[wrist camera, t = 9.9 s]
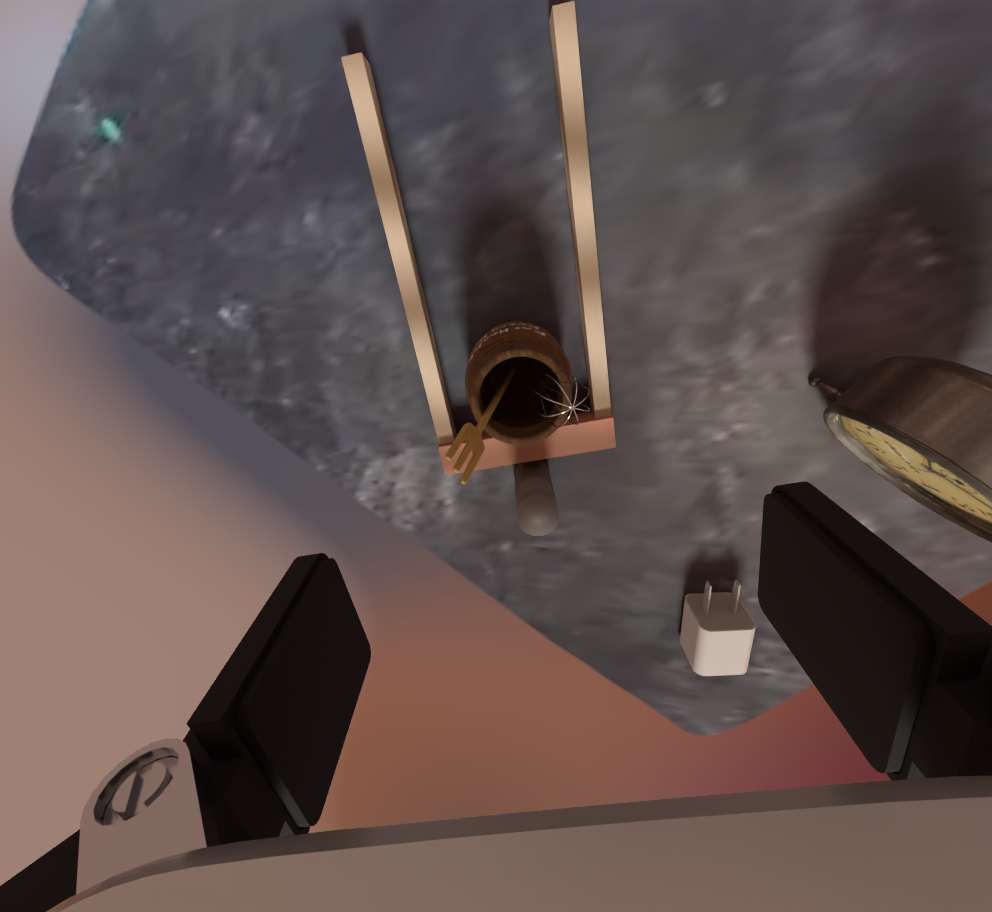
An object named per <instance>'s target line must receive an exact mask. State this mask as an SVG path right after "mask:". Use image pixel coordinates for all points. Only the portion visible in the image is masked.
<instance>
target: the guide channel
mask: <svg viewBox="0 0 992 912" xmlns="http://www.w3.org/2000/svg"><path fill="white" fill-rule="evenodd" d="M549 25H550V35H551V44H552V53H553V62H554V72H555V81H556V90H557V99H558V109H559V118H560V127H561V137H562V146H563V155H564V164H565V174H566V183H567V192H568V201H569V211H570V220H571V229H572V239H573V248H574V257H575V266H576V276H577V285H578V294H579V303H580V313H581V322H582V331H583V341H584V350H585V359H586V368H587V378H588V387H589V396H590V406H591V410H590V411H584V412H578V413H576V415H577V417H578V421H579V424H578V421H577V418H576V415H575V413H572V414H571V415H570V414H567V417H569V415H570V417H569V419H570V420H571V421H573V422H574V423H576V424H578V425H575V424H574V423H573V422H571V421H570V420H569V419H568V421H567V422H566V420H567V418H565V420H564V422H563V423H562V424H561V426H562V425H563V424H564V423H565V422H566V423H565V425H563V426H562V427H560V428H558V429H557V430H556V431H555V432H554V433H553V434H551V435H550V436H549V437H547V438H545V439H543V440H541V441H539V442H536V443H533V444H528V445H512V444H507V443H504V442H501V441H499V440H497V439H495V438H493V437H491V436H490V435H489V434H487V433H486V432H485V431H484V430H483V431H482V433H481V436H482V440H483V443H484V446H485V450H484V452H483V454H482V456H481V458H480V459H479V461H478V463H477V465H476V467H475V468H474V470H473V471H475V470H481V469H487V468H493V467H500V466H506V465H512V464H517V466H516V468H515V471H514V476H515V491H516V505H517V520H518V524H519V526H520V528H521V529H522V530H523V531H524V532H525V533H527V534H529V535H533V536H543V535H546V534H548V533H550V532H552V531H553V530H554V529H555V528H556V526H557V525H558V522H559V513H558V508H557V504H556V499H555V495H554V491H553V486H552V482H551V477H550V473H549V469H548V466H547V464H546V463H545V462H544V461H543V460H542V459H548V458H554V457H560V456H566V455H572V454H578V453H584V452H590V451H597V450H603V449H609V448H615V447H616V443H615V432H614V420H613V417H612V415H611V404H610V393H609V382H608V371H607V360H606V349H605V338H604V326H603V315H602V304H601V293H600V282H599V271H598V260H597V248H596V237H595V226H594V215H593V204H592V193H591V181H590V170H589V159H588V148H587V137H586V126H585V115H584V103H583V92H582V81H581V70H580V59H579V48H578V37H577V25H576V14H575V3H574V1H571V2H567V3H562V4H558V5H554V6H552V10H551V14H550V19H549ZM341 59H342V62H343V66H344V70H345V74H346V78H347V82H348V86H349V90H350V94H351V98H352V102H353V106H354V110H355V114H356V118H357V122H358V126H359V130H360V134H361V138H362V141H363V145H364V149H365V153H366V157H367V161H368V165H369V169H370V173H371V177H372V181H373V185H374V189H375V193H376V197H377V201H378V205H379V209H380V213H381V216H382V220H383V224H384V228H385V232H386V236H387V240H388V244H389V248H390V252H391V256H392V260H393V264H394V268H395V272H396V276H397V280H398V284H399V288H400V292H401V295H402V299H403V303H404V307H405V311H406V315H407V319H408V323H409V327H410V331H411V335H412V339H413V343H414V347H415V351H416V355H417V359H418V363H419V367H420V371H421V374H422V378H423V382H424V386H425V390H426V394H427V398H428V402H429V406H430V410H431V414H432V418H433V422H434V426H435V430H436V434H437V438H438V442H439V447H438V448H439V452H440V456H441V460H442V464H443V468H444V472H445V475H451V474H457V473H463V472H464V471H465V469H466V467H467V465H468V463H469V461H470V459H471V457H472V455H473V454H472V451H471V452H470V454H469V455H468V457H467V459H466V460H465V462H464V464H463V466H462V467H461V469H460V471H459V472H454V470H453V466H454V465H455V463H456V461H457V459H458V457H459V455H460V454H461V452H462V450H463V448H464V446H465V445H466V441H465V439H464V441H463V442H462V444H461V445H460V447H459V449H458V450H457V452H456V453H455V455H454V456H453V458H452V459H451V460H447V459H446V453H447V452H448V450H449V448H450V447H451V445H452V443H453V442H454V440H455V438H456V437H457V435H458V433H456V429H455V425H454V421H453V417H452V412H451V408H450V404H449V400H448V395H447V391H446V387H445V383H444V378H443V374H442V370H441V365H440V361H439V357H438V353H437V348H436V344H435V340H434V336H433V331H432V327H431V323H430V319H429V314H428V310H427V306H426V302H425V297H424V293H423V289H422V285H421V280H420V276H419V272H418V267H417V263H416V259H415V255H414V250H413V246H412V242H411V238H410V233H409V229H408V225H407V221H406V216H405V212H404V208H403V204H402V199H401V195H400V191H399V187H398V182H397V178H396V174H395V169H394V165H393V161H392V157H391V152H390V148H389V144H388V140H387V135H386V131H385V127H384V123H383V118H382V114H381V110H380V106H379V101H378V97H377V93H376V89H375V84H374V80H373V76H372V71H371V67H370V64H369V62H368V61H367V59H366V58H365V57H364V55H363V54H362V52H361V53H357V54H353V55H348V56H344V57H341Z"/></svg>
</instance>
